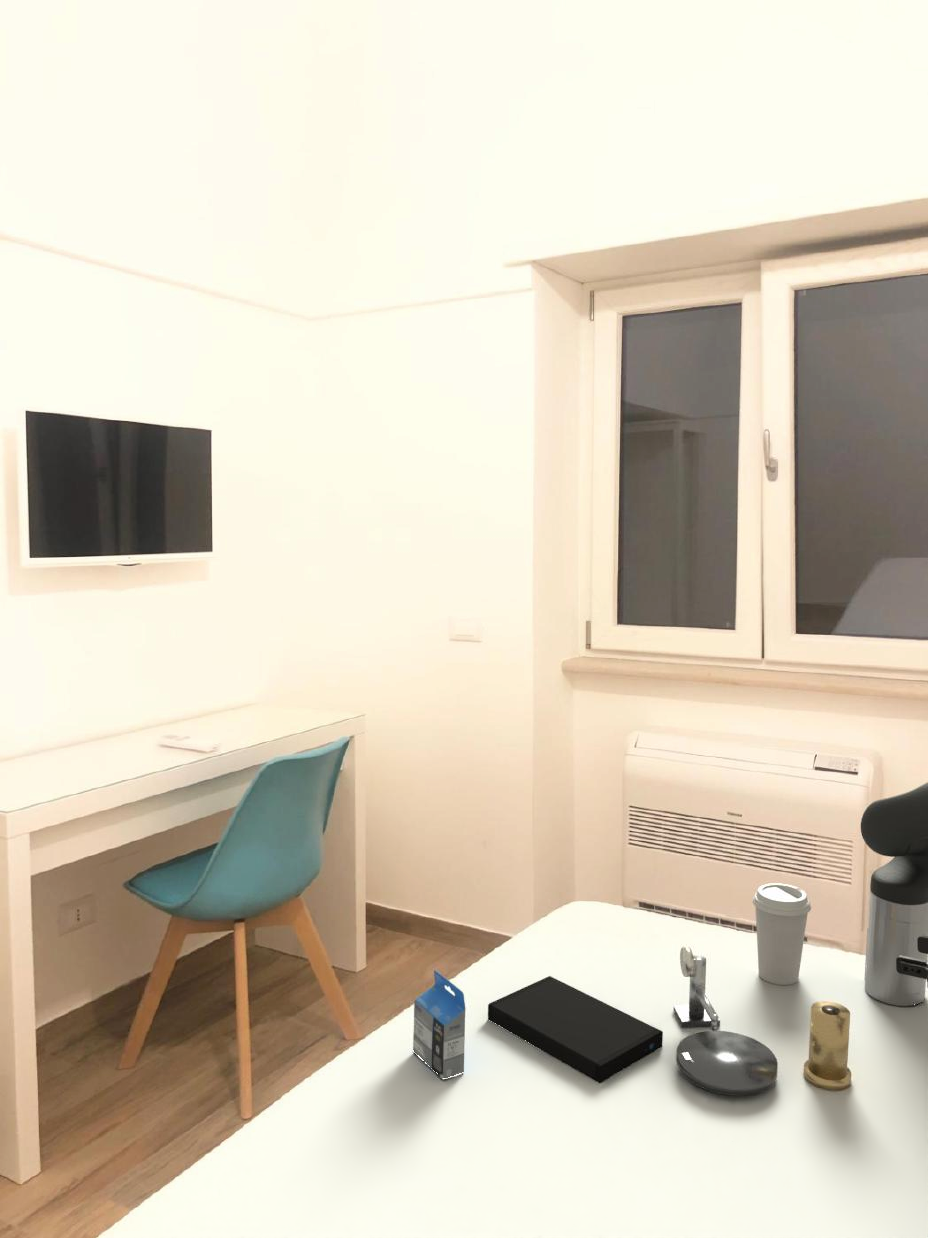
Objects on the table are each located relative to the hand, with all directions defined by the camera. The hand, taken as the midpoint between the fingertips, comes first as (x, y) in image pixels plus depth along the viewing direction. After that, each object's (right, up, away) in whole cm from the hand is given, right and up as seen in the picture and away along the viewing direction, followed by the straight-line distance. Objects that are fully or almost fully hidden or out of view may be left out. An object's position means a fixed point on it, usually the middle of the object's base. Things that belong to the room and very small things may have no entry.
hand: (907, 953), depth 138 cm
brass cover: (-8, -21, +9) cm, 24 cm away
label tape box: (-63, -20, +13) cm, 67 cm away
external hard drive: (-42, -20, +21) cm, 51 cm away
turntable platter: (-22, -20, +10) cm, 31 cm away
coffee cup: (-5, -17, +39) cm, 43 cm away
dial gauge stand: (-22, -19, +21) cm, 36 cm away
